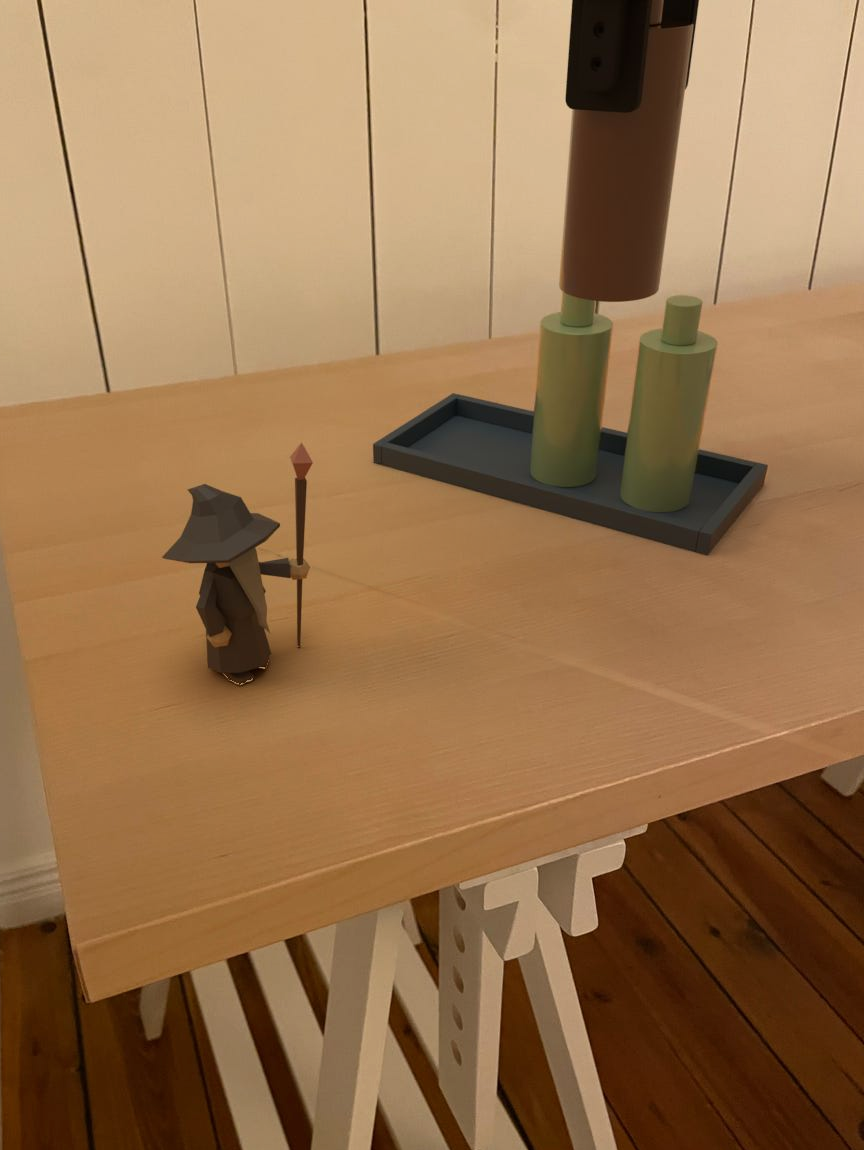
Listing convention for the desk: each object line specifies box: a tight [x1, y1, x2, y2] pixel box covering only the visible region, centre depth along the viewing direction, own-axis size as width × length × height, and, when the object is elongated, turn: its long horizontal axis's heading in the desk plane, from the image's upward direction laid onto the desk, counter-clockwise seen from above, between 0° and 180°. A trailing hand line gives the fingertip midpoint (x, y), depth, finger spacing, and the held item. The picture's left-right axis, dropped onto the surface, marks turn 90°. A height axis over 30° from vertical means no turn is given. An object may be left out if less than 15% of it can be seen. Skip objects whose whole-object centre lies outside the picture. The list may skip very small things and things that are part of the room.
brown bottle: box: [558, 0, 693, 303], centre depth 45 cm, size 5×5×14 cm
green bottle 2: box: [620, 294, 719, 513], centre depth 66 cm, size 5×5×14 cm
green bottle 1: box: [530, 290, 614, 487], centre depth 69 cm, size 5×5×14 cm
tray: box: [372, 392, 769, 556], centre depth 73 cm, size 26×12×2 cm, turn 56°
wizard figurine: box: [161, 442, 314, 685], centre depth 53 cm, size 8×6×12 cm
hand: (628, 95), depth 44 cm, fingers closed on brown bottle, 4 cm apart
